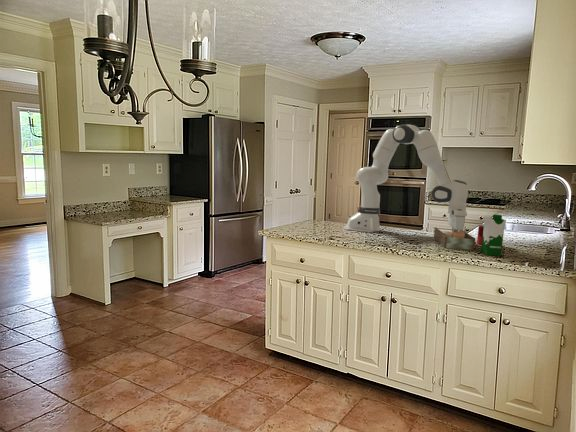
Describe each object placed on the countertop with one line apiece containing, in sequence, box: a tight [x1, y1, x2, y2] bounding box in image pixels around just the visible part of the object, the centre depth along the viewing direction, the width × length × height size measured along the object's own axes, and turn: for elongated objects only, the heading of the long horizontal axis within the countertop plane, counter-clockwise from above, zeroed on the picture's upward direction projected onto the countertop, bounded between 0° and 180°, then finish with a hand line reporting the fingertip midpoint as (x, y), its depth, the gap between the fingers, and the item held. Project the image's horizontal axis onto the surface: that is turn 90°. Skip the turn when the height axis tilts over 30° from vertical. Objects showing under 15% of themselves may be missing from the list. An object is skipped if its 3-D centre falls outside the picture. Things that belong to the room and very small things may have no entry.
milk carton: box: [480, 214, 507, 257], centre depth 216 cm, size 9×9×20 cm
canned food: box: [476, 223, 484, 246], centre depth 239 cm, size 8×8×11 cm
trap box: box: [433, 226, 476, 251], centre depth 239 cm, size 15×28×6 cm, turn 172°
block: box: [451, 230, 465, 238], centre depth 229 cm, size 5×5×4 cm
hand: (454, 235), depth 236 cm, fingers closed
